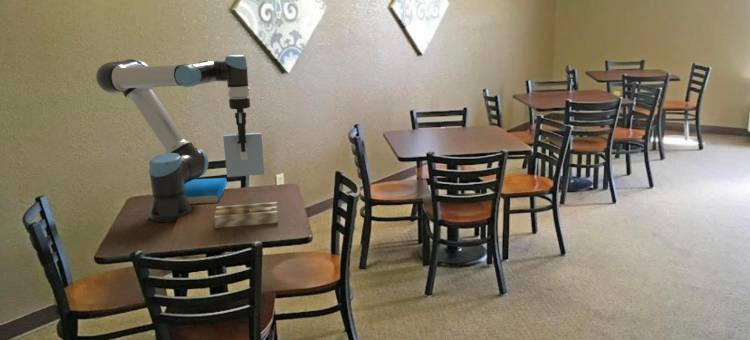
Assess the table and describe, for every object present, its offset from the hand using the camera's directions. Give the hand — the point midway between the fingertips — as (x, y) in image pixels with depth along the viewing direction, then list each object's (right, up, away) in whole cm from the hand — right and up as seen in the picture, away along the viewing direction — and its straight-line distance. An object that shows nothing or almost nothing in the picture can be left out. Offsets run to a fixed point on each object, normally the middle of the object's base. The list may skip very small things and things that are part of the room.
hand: (244, 158), depth 230 cm
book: (-24, -15, +28) cm, 39 cm away
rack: (+3, -24, -9) cm, 26 cm away
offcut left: (-2, -23, -13) cm, 27 cm away
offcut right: (+8, -23, -11) cm, 27 cm away
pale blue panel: (0, -6, +2) cm, 6 cm away
